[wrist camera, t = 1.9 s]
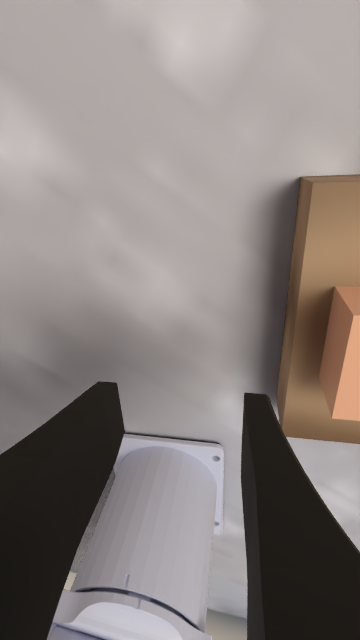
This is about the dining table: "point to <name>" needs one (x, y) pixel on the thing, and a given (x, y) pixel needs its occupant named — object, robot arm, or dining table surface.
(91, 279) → the dining table surface
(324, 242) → the wooden square board
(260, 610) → the robot arm
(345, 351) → the salmon cube
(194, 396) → the dining table surface
